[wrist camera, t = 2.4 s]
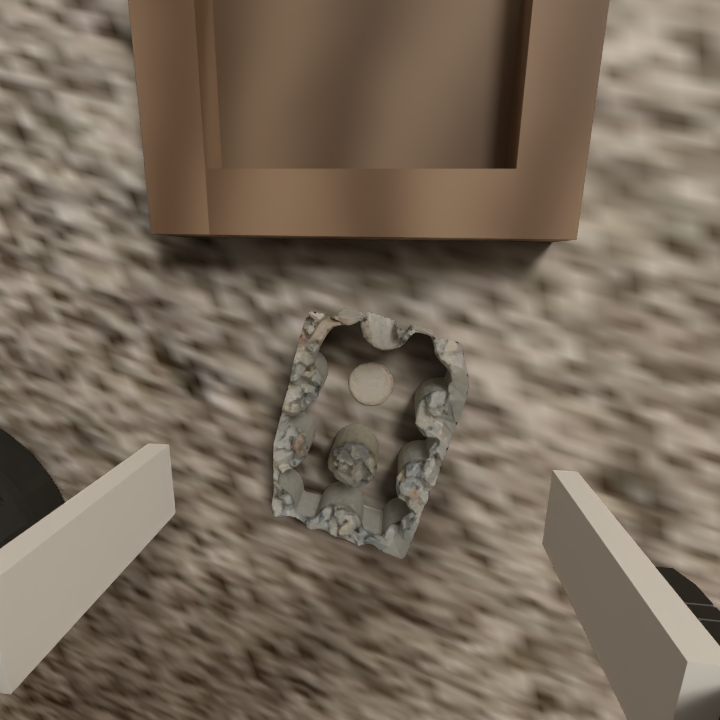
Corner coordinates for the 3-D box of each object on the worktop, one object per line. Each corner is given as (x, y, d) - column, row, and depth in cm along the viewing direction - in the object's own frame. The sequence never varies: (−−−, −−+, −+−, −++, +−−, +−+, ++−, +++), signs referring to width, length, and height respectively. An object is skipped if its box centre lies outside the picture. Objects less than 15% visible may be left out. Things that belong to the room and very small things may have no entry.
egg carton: (322, 292, 20) (303, 299, 16) (471, 336, 20) (489, 355, 16) (272, 481, 23) (245, 528, 19) (404, 521, 22) (405, 577, 19)
